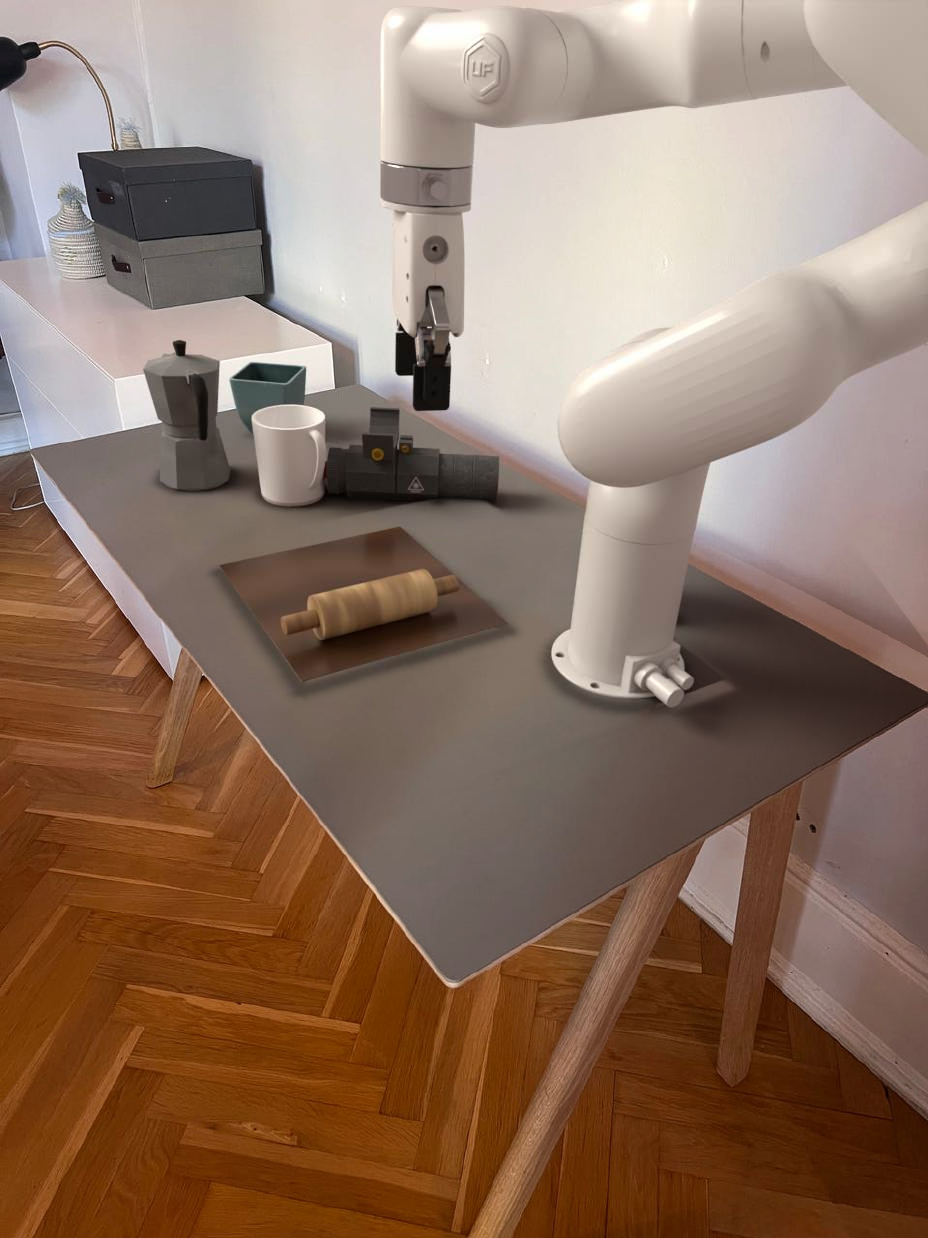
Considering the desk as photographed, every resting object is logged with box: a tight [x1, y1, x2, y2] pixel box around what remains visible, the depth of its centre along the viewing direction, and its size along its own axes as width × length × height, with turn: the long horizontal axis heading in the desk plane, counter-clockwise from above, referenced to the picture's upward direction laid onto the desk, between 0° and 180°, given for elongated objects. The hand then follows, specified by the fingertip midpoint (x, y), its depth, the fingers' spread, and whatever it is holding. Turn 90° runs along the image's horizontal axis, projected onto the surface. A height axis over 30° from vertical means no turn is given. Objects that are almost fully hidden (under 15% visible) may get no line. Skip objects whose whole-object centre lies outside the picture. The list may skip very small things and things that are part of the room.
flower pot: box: [228, 361, 307, 436], centre depth 133 cm, size 9×9×9 cm
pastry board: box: [218, 526, 508, 683], centre depth 95 cm, size 24×22×1 cm
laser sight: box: [324, 406, 500, 502], centre depth 116 cm, size 10×22×10 cm, turn 89°
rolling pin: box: [281, 569, 459, 640], centre depth 89 cm, size 4×18×4 cm, turn 120°
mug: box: [252, 404, 327, 508], centre depth 114 cm, size 11×9×10 cm
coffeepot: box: [142, 339, 231, 492], centre depth 115 cm, size 15×9×18 cm, turn 29°
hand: (420, 391), depth 84 cm, fingers open, 9 cm apart
